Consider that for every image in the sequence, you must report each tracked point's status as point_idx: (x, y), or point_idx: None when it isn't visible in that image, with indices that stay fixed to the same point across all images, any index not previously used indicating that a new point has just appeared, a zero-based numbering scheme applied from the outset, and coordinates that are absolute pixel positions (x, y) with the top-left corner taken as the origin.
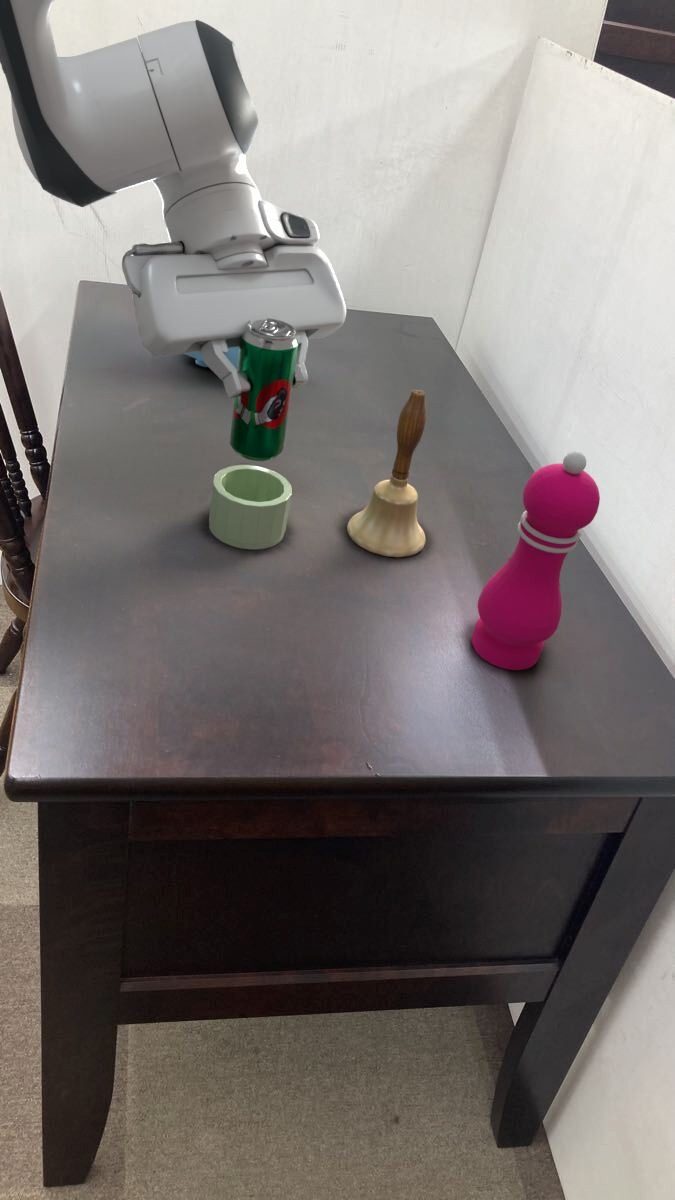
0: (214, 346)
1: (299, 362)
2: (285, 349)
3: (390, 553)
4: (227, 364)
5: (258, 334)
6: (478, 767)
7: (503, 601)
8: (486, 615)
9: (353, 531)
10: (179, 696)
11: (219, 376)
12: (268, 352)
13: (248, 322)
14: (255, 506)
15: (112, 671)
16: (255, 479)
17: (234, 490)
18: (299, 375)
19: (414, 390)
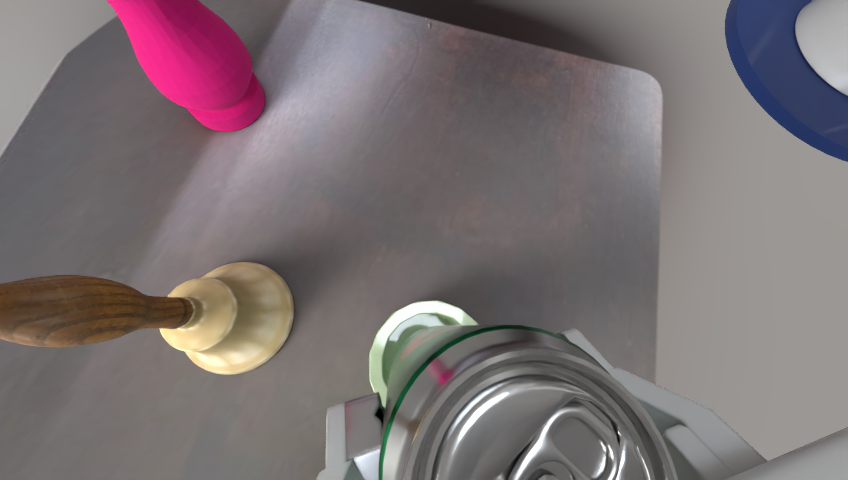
0: (737, 439)
1: (346, 460)
2: (480, 336)
3: (261, 265)
4: (642, 384)
5: (632, 395)
6: (347, 4)
7: (228, 31)
8: (248, 61)
9: (287, 316)
10: (551, 115)
11: None
12: (550, 332)
13: None
14: (444, 302)
15: (600, 151)
16: None
17: None
18: (360, 410)
19: None
